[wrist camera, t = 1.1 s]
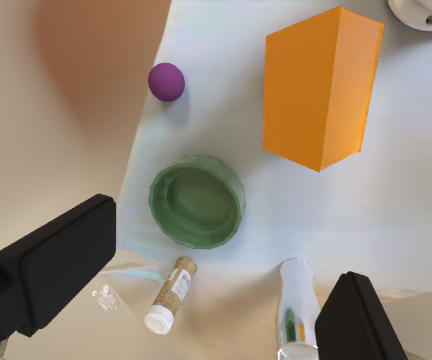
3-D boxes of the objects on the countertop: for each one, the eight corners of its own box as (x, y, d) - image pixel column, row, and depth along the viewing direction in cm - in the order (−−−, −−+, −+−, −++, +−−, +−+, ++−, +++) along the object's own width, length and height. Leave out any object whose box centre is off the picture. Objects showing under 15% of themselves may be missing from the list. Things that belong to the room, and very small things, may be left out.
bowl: (168, 143, 38) (153, 150, 34) (256, 169, 36) (253, 181, 32) (159, 216, 45) (145, 231, 40) (233, 242, 43) (227, 261, 38)
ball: (160, 61, 34) (142, 57, 29) (192, 68, 33) (178, 66, 28) (157, 96, 36) (139, 97, 31) (186, 104, 35) (173, 106, 31)
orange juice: (338, 50, 28) (439, -11, 10) (328, 124, 31) (391, 178, 13) (272, 56, 30) (258, 13, 12) (269, 125, 33) (255, 172, 15)
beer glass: (273, 281, 43) (270, 369, 30) (280, 252, 41) (279, 335, 27) (312, 291, 42) (327, 387, 29) (321, 261, 39) (342, 353, 26)
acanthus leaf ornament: (106, 283, 57) (101, 288, 56) (124, 302, 58) (119, 308, 57) (90, 291, 60) (84, 297, 59) (107, 309, 61) (102, 316, 60)
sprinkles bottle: (175, 255, 48) (139, 313, 36) (195, 256, 46) (165, 316, 34) (179, 272, 49) (146, 333, 37) (199, 274, 48) (172, 337, 36)
